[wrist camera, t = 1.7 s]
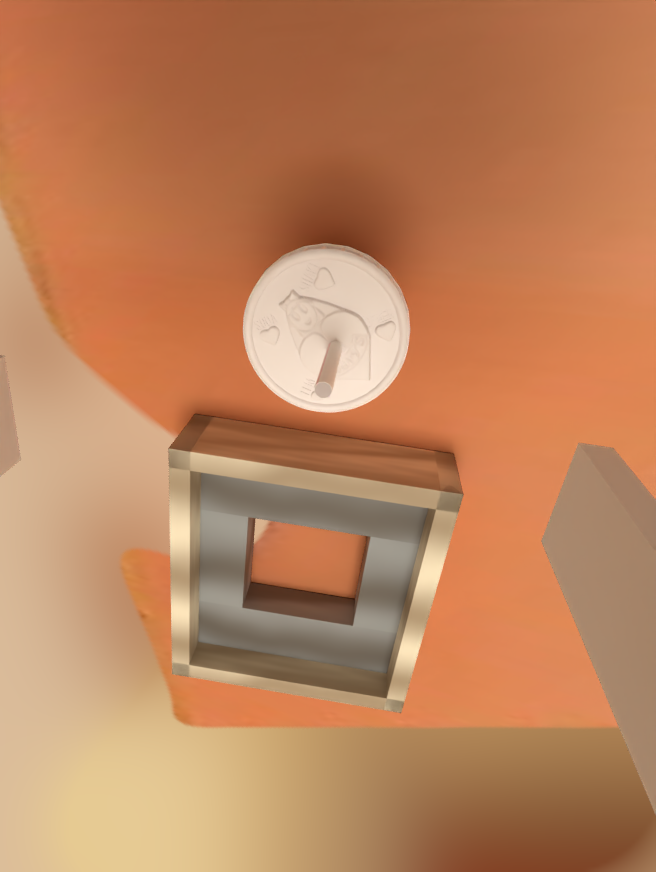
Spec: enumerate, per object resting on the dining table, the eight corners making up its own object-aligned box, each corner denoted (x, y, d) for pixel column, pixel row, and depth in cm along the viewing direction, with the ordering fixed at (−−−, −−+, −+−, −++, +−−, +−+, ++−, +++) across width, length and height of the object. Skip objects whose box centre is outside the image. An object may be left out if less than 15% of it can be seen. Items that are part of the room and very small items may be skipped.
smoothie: (343, 365, 31) (313, 502, 18) (259, 284, 29) (165, 374, 17) (429, 285, 28) (462, 381, 16) (343, 191, 27) (304, 216, 14)
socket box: (194, 414, 33) (168, 448, 29) (454, 453, 33) (463, 494, 29) (193, 624, 41) (172, 674, 37) (399, 659, 41) (401, 712, 37)
